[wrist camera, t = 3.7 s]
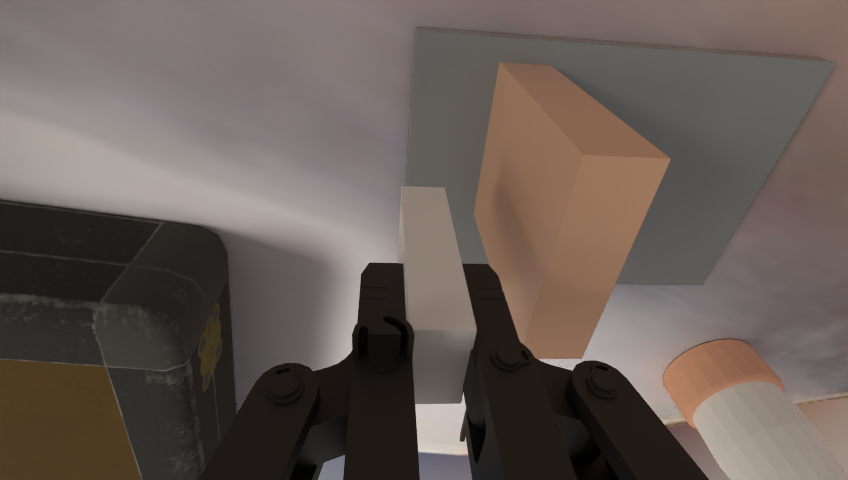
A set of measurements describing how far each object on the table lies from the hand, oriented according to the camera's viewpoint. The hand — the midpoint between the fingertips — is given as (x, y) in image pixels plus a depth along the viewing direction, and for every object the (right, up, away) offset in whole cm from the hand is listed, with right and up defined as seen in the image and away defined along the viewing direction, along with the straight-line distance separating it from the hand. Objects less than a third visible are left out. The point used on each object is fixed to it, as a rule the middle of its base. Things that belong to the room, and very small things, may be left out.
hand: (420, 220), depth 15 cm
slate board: (+9, +3, +9) cm, 13 cm away
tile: (+4, +4, +6) cm, 9 cm away
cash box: (-24, -8, +14) cm, 29 cm away
